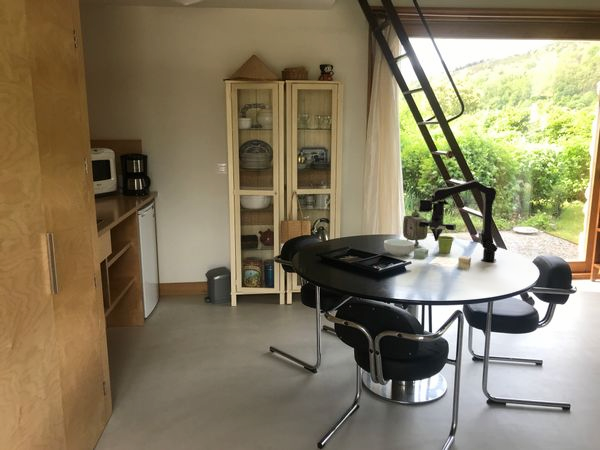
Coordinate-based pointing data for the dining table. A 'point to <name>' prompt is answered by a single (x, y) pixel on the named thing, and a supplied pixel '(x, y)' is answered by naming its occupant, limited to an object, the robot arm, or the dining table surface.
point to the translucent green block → (421, 253)
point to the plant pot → (445, 244)
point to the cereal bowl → (398, 247)
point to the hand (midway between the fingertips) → (436, 240)
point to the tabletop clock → (414, 227)
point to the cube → (464, 262)
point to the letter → (444, 261)
